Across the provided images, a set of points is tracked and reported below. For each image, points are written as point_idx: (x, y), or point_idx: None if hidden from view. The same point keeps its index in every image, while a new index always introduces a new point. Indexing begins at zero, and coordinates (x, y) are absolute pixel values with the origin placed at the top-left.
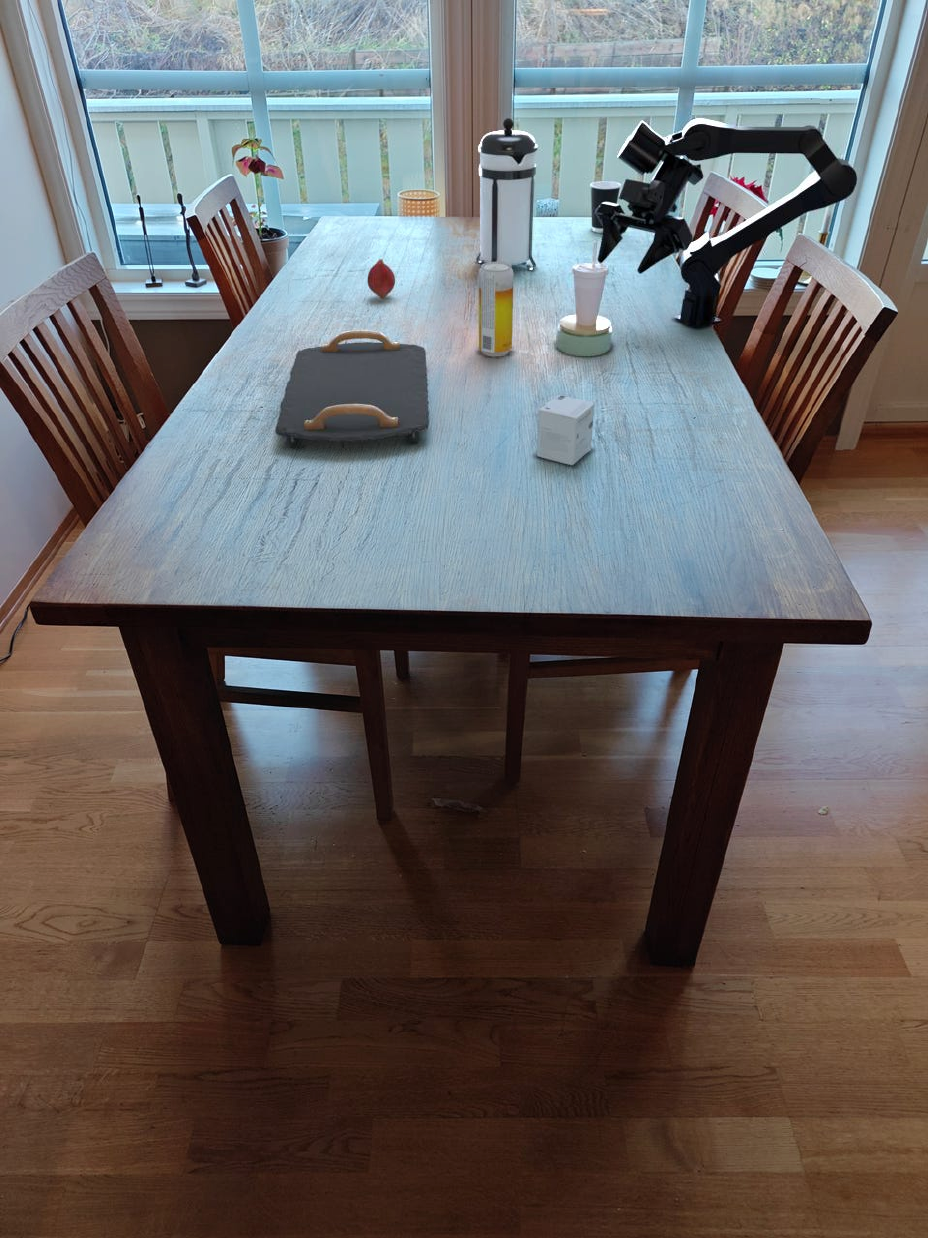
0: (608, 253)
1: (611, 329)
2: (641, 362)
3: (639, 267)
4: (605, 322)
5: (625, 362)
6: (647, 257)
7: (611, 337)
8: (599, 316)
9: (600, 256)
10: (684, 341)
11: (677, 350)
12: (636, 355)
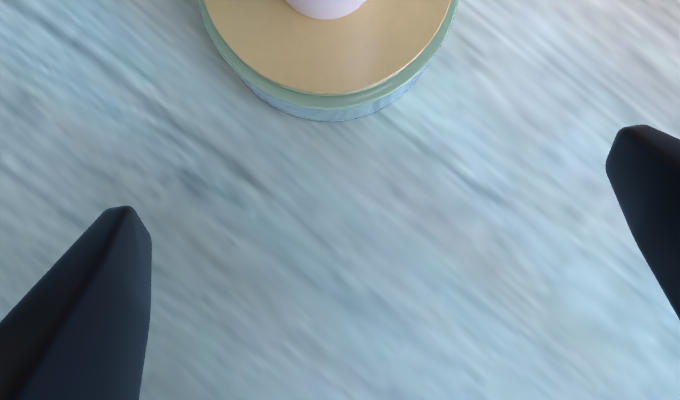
0: (670, 280)
1: (236, 67)
2: (61, 86)
3: (105, 221)
4: (268, 49)
5: (97, 34)
6: (13, 317)
7: (238, 75)
8: (354, 82)
9: (643, 143)
10: None
11: None
12: (128, 121)
